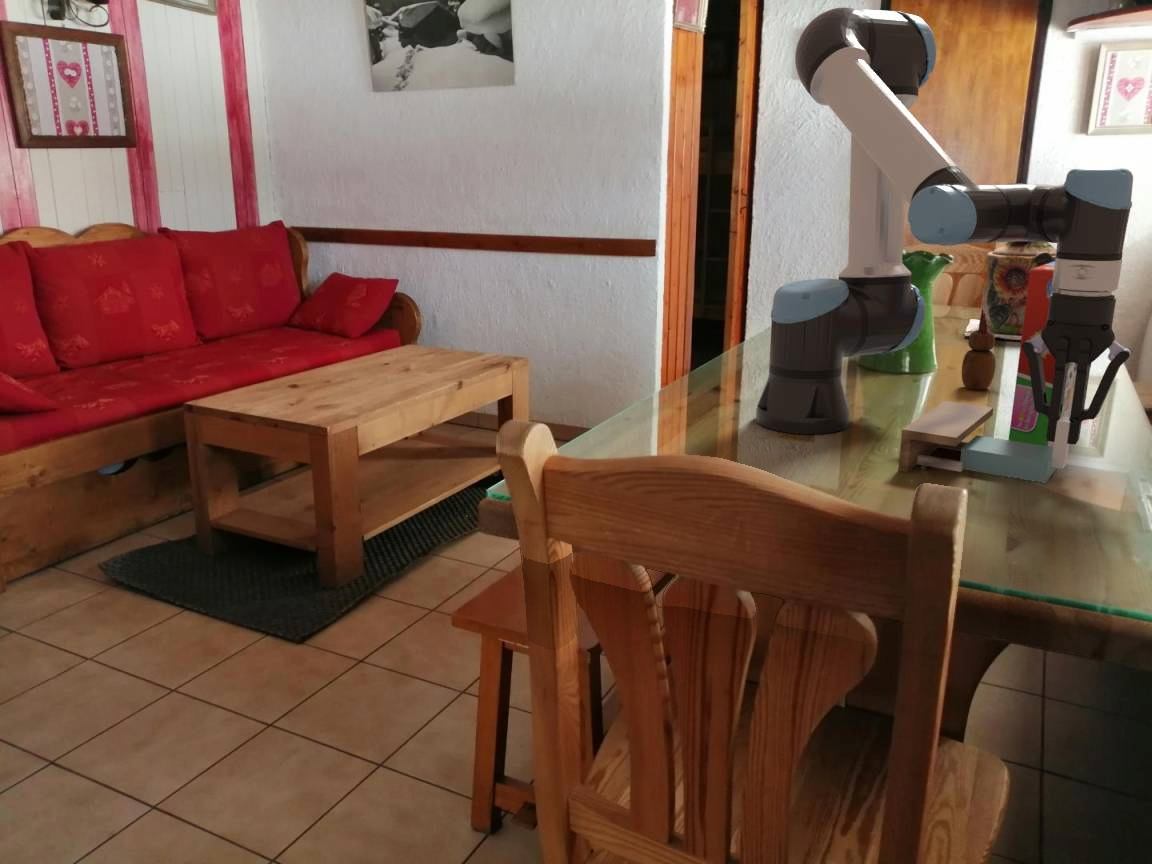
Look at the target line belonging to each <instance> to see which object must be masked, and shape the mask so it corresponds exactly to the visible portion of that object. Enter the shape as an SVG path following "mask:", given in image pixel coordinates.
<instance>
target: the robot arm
mask: <svg viewBox="0 0 1152 864" xmlns="http://www.w3.org/2000/svg"><path fill="white" fill-rule="evenodd" d="M794 58H795V59H794V60H795V61H794V62H795V63H794V64H795V68H796V72H797V77H798V79H799V80H800V82H801V84H802V86H803V87H804V89H805V90H806V92H807V93H808V95H810V97H811V98H812V99H813V101H815V103H817V104H818V105H820V106H828V107H829V108H830V109H831V111H832V112H833V113H834V114H835V116H836V117H837V118H838V120H839V121H840V122H841V124H843V125H844V127H846V129H847V130H848V131H849V133H850V135H851V136H850V176H849V179H850V180H849V214H848V215H849V217H848V219H849V221H848V223H849V224H848V256H847V257H848V259H847V262H848V264H847V265H846V267H845V268H844V269H842V270H841V272H839V273H838V278H816V279H804V280H802V279H801V280H796V281H793V282H790V283H786V284H783V285H781V286H780V287H779V288H777V290H776V291H775V293H774V295H773V299H772V300H773V301H772V309H771V311H770V318H771V324H770V325H771V327H770V346H769V347H770V348H769V364H768V365H769V367H768V376H767V379H766V383H765V384H764V388H763V390H762V393H761V396H760V398H759V400H758V403H757V405H756V413H755V421H756V423H757V424H759V425H760V426H762V427H763V428H767V429H770V430H773V431H778V432H782V433H791V434H799V435H800V434H802V435H803V434H804V435H819V434H820V435H821V434H830V433H831V434H832V433H836V432H837V433H838V432H840V431H843V430H845V429H847V428H848V427H849V426H850V425H849V424H850V423H849V422H850V409H849V406H848V400H847V398H846V393H845V390H844V386H843V383H842V382H843V381H842V369H843V368H842V367H843V358H850V357H856V356H858V357H859V356H867V355H874V354H875V355H886V354H888V353H892V352H895V351H900V350H903V349H906V348H907V347H908V346H910V345H911V344H912V342H913V341H915V340H916V339H917V338H918V336H919V334H921V330H922V329H923V326H924V323H925V320H926V302H925V297H924V296H921V293H922V292H921V291H920V290H919V288H918V287H916V286H915V285H914V284H912V272H911V271H910V270H909V269H908V268H907V266H905V264H904V263H903V253H904V252H903V250H904V249H903V248H904V247H903V246H904V245H903V244H904V243H903V242H904V220H905V200H906V201H907V203H908V205H909V208H908V212H907V222H908V223H909V226H910V228H909V229H910V233H911V234H912V236H913V237H914V238H915V239H916V240H917V241H918V242H921V243H923V244H926V245H931V246H934V245H936V246H937V245H938V246H943V247H947V246H948V247H949V246H951V247H952V246H957V245H969V244H970V245H971V244H982V243H985V244H986V243H989V244H990V243H991V244H992V243H1008V242H1013V241H1032V242H1048V243H1049V244H1056V248H1055V249H1056V251H1057V252H1056V259H1055V266H1054V273H1053V280H1052V287H1053V288H1054V289H1056V292H1053V293H1052V294H1051V295H1050V303H1049V310H1048V318H1047V324H1046V326H1045V327H1044V329H1043V330H1042V332H1041V335H1040V336H1038V337H1036V338H1034V339H1032V340H1031V339H1029V340H1027V341H1025V342H1024V343H1023V344H1022V346H1021V345H1020V347H1022V349H1023V351H1024V353H1025V355H1026V357H1027V358H1028V363H1029V370H1030V377H1031V385H1032V392H1033V399H1034V407H1035V411H1036V412H1038V413H1042V414H1044V415H1046V416H1047V417H1048V428H1047V435H1046V438H1047V441H1051V442H1054V448H1053V455H1052V463H1051V467H1055V468H1057V469H1060V470H1061V469H1062V470H1063V469H1064V468H1065V466H1066V465H1067V463H1068V457H1069V456H1068V455H1069V448H1070V445H1072V446H1073V445H1074V446H1075V445H1076V444H1077V443H1078V442H1079V440H1080V437H1081V430H1082V429H1081V428H1082V423H1083V422H1084V421H1087V420H1095V418H1096V417H1098V415H1099V413H1100V412H1101V410H1102V407H1103V405H1104V402H1105V401H1106V398H1107V396H1108V393H1109V391H1110V390H1111V388H1112V385H1113V383H1114V381H1115V379H1116V376H1117V374H1118V372H1119V370H1120V368H1121V366H1122V365H1123V364H1124V363H1125V362H1126V361H1127V360H1128V359H1129V358H1130V357H1131V356H1132V354H1133V353H1132V352H1133V351H1132V349H1131V348H1129V347H1124V346H1123V345H1121V344H1119V342H1117V341H1115V340H1116V336H1115V332H1114V330H1113V324H1114V323H1113V322H1114V318H1115V317H1114V316H1115V310H1116V309H1115V308H1116V303H1117V297H1116V295H1114V294H1113V292H1115V291H1117V290H1118V288H1119V282H1120V276H1121V271H1122V266H1123V264H1122V263H1123V253H1124V252H1123V250H1124V245H1125V238H1126V234H1127V233H1126V232H1127V228H1128V223H1129V219H1130V212H1131V209H1132V206H1133V202H1132V195H1133V193H1132V192H1133V185H1134V175H1133V173H1132V171H1131V170H1129V169H1128V168H1125V167H1124V168H1115V167H1114V168H1113V167H1112V168H1072V169H1070V170H1069V171H1068V172H1067V174H1066V178H1065V181H1064V183H1063V184H1040V183H1039V184H1037V183H1036V184H1035V183H1033V184H1032V183H1018V182H1017V183H1005V184H975V183H974V182H973V181H972V180H971V179H970V177H968V175H966V174H965V172H964V171H963V170H962V169H961V168H960V167H959V166H958V165H957V164H956V163H955V162H954V161H953V159H952V158H951V157H950V156H949V155H948V154H947V153H946V152H945V150H944V149H943V148H942V147H941V146H940V144H939V143H938V142H937V141H936V140H935V139H934V138H933V136H931V135H930V133H929V132H928V131H927V130H926V129H925V128H924V127H923V125H922V124H921V123H920V122H919V121H918V120H917V118H916V117H915V116H914V115H913V114H912V113H911V112H910V108H912V106H914V105H915V103H916V102H917V101H918V100H919V89H921V88H922V87H923V86H924V85H925V84H926V83H927V82H928V80H929V79H930V76H929V75H930V74H932V73H933V71H934V68H935V65H936V60H937V43H936V39H935V34H934V33H933V31H932V28H931V27H930V26H929V25H928V23H926V22H925V21H924V19H923V18H921V17H920V16H917V15H915V14H910V13H906V12H902V11H900V10H878V9H877V10H874V9H860V8H853V7H837V8H836V7H835V8H831V9H828V10H827V11H824V12H822V13H819V15H817V16H815V17H814V18H813V19H812V20H811V21H810V22H809V23H808V24H807V25H806V26H805V28H804V29H803V31H802V33H801V34H800V37H799V38H798V41H797V44H796V49H795V57H794ZM1043 343H1045V345H1046V346H1047V348H1048V349H1049V351H1050V353H1051V354H1052V356H1053V357H1054V358H1055V359H1056V361H1055V373H1054V380H1053V387H1052V395H1051V402H1050V404H1048V400H1047V393H1046V385H1045V378H1044V370H1043V363H1042V356H1041V353H1040V352H1042V351H1043ZM1107 349H1108V350H1109V353H1108V355H1107V359H1108V360H1109V361H1110V362H1109V363H1108V364H1107V366H1106V369H1105V371H1104V373H1103V375H1102V378H1101V379H1100V382H1099V384H1098V386H1097V388H1096V390H1095V393H1094V395H1093V398H1092V400H1091V403H1090V404H1089V407H1088V408H1085V405H1086V401H1087V399H1086V398H1087V393H1088V387H1089V386H1088V385H1089V379H1090V372H1091V367H1092V363H1093V362H1095V361H1096V360H1097V359H1098V358H1099V357H1100V356H1101V355H1102V354H1103V353H1104V352H1105V351H1106V350H1107ZM1070 362H1074V363H1076V364H1077V368H1076V379H1075V386H1074V393H1073V400H1072V407H1071V414H1070V418H1068V417H1061V413H1062V412H1063V411H1062V409H1063V402H1064V395H1065V388H1066V381H1067V374H1068V367H1069V364H1070Z"/></svg>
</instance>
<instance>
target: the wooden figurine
mask: <svg viewBox="0 0 1152 864" xmlns="http://www.w3.org/2000/svg"><path fill="white" fill-rule="evenodd" d="M980 313H981V314H980V317H979V320H980V323H979V329H978V330H976V331H973V332H972V333H971V334H970V336H968V343H967V344H968V346H969V348H970V349H969V350H968V351H966V353H965V354H964V356H963V360H962V365H961V381H962V384H963V386H964V387H965V388H966V389H969V390H973V391H983V390H987V389H988V388H990V386H991V384H992V382H993V379H994V375H995V372H996V364H997V363H996V362H997V361H996V355H995V354H994V352H993V351H991V350H992V349H994V347H995V343H996V337H995V336H994V334H993V332H991V331H987V324H986V319H985V313H984V314H983V310H982V312H980Z"/></svg>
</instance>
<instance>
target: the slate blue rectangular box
mask: <svg viewBox="0 0 1152 864" xmlns="http://www.w3.org/2000/svg"><path fill="white" fill-rule="evenodd" d="M1053 448H1054V447H1050V446H1044V445H1037V444H1031V443H1024V442H1017V441H1011V440H1009V439H1002V438H997V437H990V436H985V435H983V436H982V435H977V434H976V435H975V436H974V437H973V438H972V439H970V441H969V442H968V441H967V444H966V445H965V446H964V447H963V448H962V451H960V453H961V454H960V460H959V461H961V462H963V470H967V471H971V472H977V473H983V474H989V475H995V476H1000V475H1002V476H1001V477H1005V476H1009V477H1008V478H1011V477H1014V478H1013V479H1017V478H1019V479H1018V480H1023V479H1026V480H1025V481H1028V480H1033V481H1032V482H1034V481H1039V482H1038V483H1040V482H1042V484H1046V483H1047V482H1048V480H1049V479H1050V478H1051V476H1052V475H1053V474H1054V472H1055V471H1056V469H1058V468H1055V467H1051V463H1052V455H1053ZM1046 481H1047V482H1046Z"/></svg>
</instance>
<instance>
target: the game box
mask: <svg viewBox="0 0 1152 864" xmlns="http://www.w3.org/2000/svg"><path fill="white" fill-rule="evenodd" d="M1054 266H1055V261H1054V262H1051V263H1048V264H1045V265H1042V266H1039V267H1036V268H1033V269H1031V270H1030V276H1029V283H1028V291H1027V299H1026V308H1025V315H1024V323H1023V331H1022V339H1021V340H1020V348H1019V356H1018V365H1017V370H1016V372H1017V373H1016V380H1015V386H1014V387H1015V388H1014V394H1013V403H1012V411H1011V412H1012V413H1011V419H1010V426H1009V427H1010V428H1009V432H1008V433H1009V434H1008V440H1011V441H1017V442H1024V443H1031V444H1037V445H1044V446H1050V447H1054V442H1051V441H1047V438H1046V435H1047V428H1048V417H1047V416H1046V415H1044V414H1042V413H1038V412H1036V411H1035V407H1034V399H1033V392H1032V385H1031V377H1030V370H1029V363H1028V358H1027V357H1026V355H1025V353H1024V351H1023V349H1022V347H1021V346H1022V344H1023V343H1024V342H1025V341H1027V340H1029V339H1031V340H1032V339H1034V338H1036V337H1038V336H1040V335H1041V332H1042V330H1043V329H1044V327H1045V326H1046V324H1047V318H1048V310H1049V303H1050V295H1051V294H1052V293H1053V292H1056V289H1054V288H1053V287H1052V280H1053V273H1054ZM1040 353H1041V356H1042V363H1043V370H1044V378H1045V385H1046V393H1047V400H1048V404H1050V402H1051V395H1052V387H1053V380H1054V373H1055V361H1056V359H1055V358H1054V357H1053V356H1052V354H1051V353H1050V351H1049V349H1048V348H1047V346H1046V345H1045V343H1043V351H1042V352H1040ZM1076 368H1077V364H1076V363H1074V362H1070V364H1069V367H1068V374H1067V381H1066V388H1065V395H1064V402H1063V409H1062V411H1063V412H1062V413H1061V417H1068V418H1070V414H1071V407H1072V400H1073V393H1074V386H1075V379H1076Z"/></svg>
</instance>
